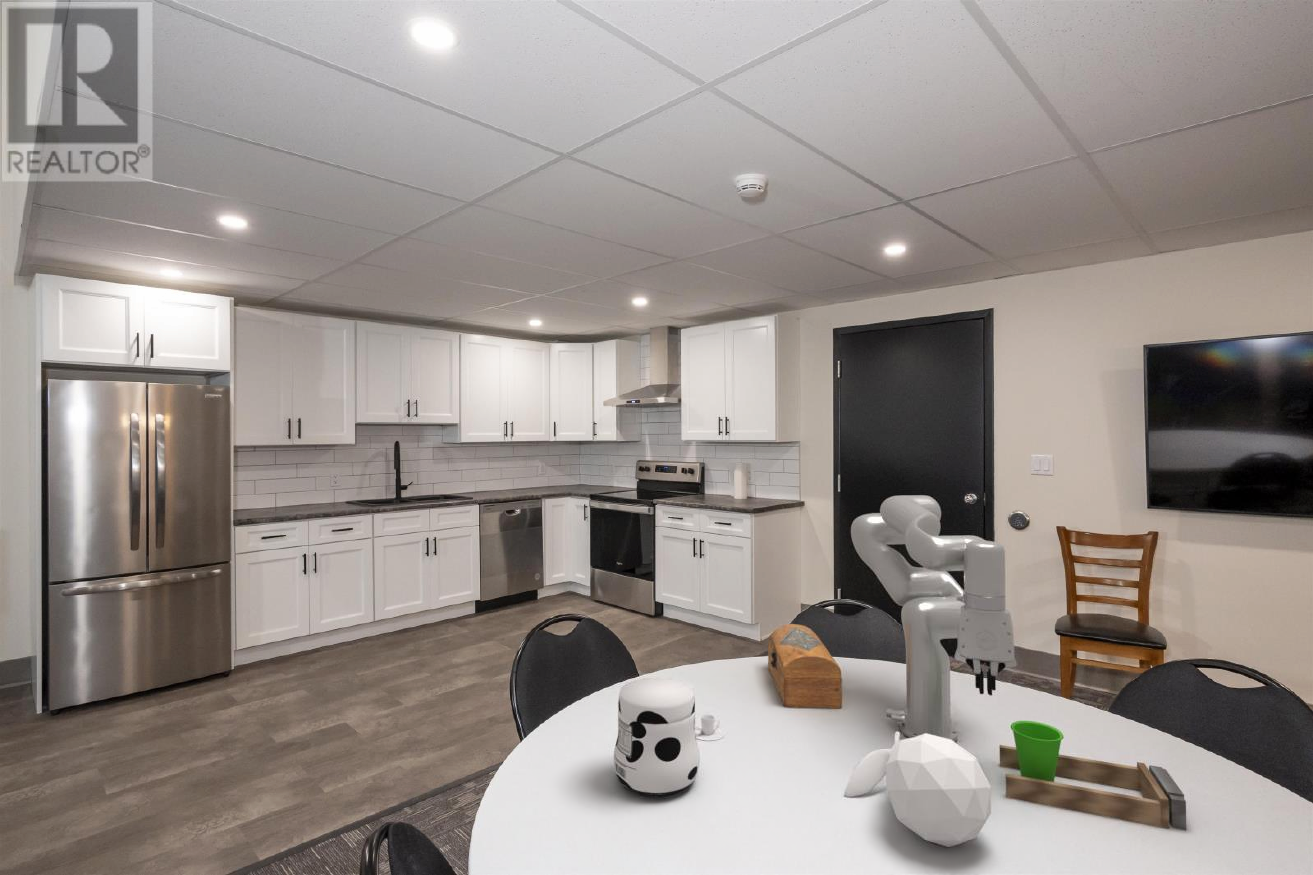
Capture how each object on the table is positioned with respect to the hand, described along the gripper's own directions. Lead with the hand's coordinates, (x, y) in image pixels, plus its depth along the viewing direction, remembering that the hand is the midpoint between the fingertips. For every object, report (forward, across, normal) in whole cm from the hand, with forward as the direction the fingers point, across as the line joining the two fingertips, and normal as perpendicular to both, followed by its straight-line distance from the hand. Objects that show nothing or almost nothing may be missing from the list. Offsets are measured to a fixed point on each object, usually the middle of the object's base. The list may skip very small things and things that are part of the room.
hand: (985, 692), depth 131 cm
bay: (+17, +17, 0) cm, 24 cm away
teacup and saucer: (+18, -61, -2) cm, 64 cm away
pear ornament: (+17, -13, -22) cm, 31 cm away
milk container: (+17, -61, -28) cm, 69 cm away
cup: (+17, +9, 0) cm, 20 cm away
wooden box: (+18, -44, +35) cm, 59 cm away
